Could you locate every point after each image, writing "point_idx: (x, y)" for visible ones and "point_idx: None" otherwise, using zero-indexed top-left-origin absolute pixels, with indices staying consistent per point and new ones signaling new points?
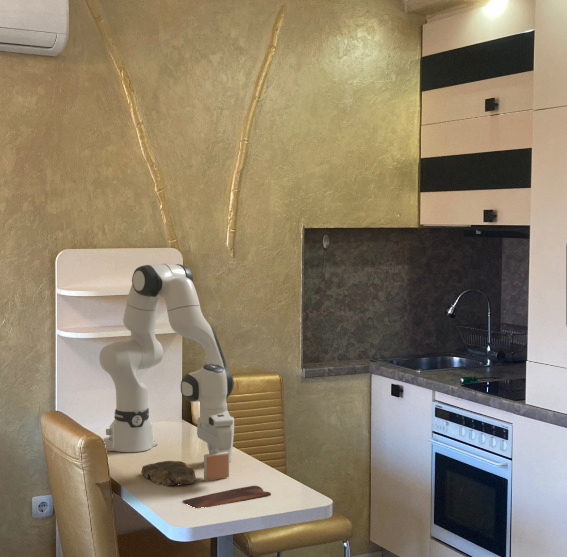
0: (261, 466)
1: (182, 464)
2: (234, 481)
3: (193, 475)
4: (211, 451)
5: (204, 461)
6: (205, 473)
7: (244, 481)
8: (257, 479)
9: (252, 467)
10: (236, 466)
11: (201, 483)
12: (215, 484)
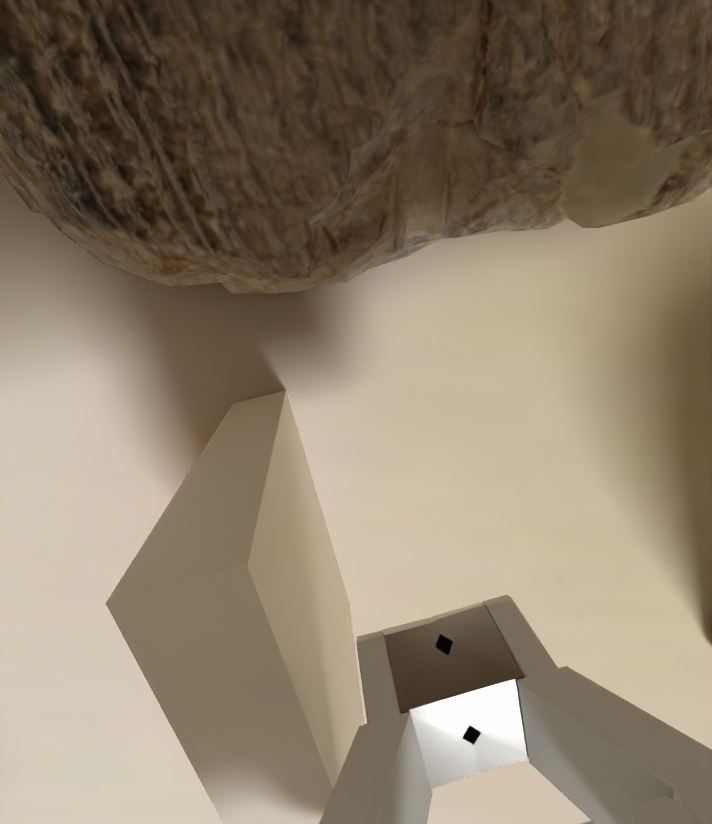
0: (527, 819)
1: (517, 83)
2: None
3: (97, 239)
4: (530, 715)
5: (243, 487)
6: (227, 426)
7: None
8: None
9: (525, 773)
10: None
11: (129, 343)
12: (84, 482)
